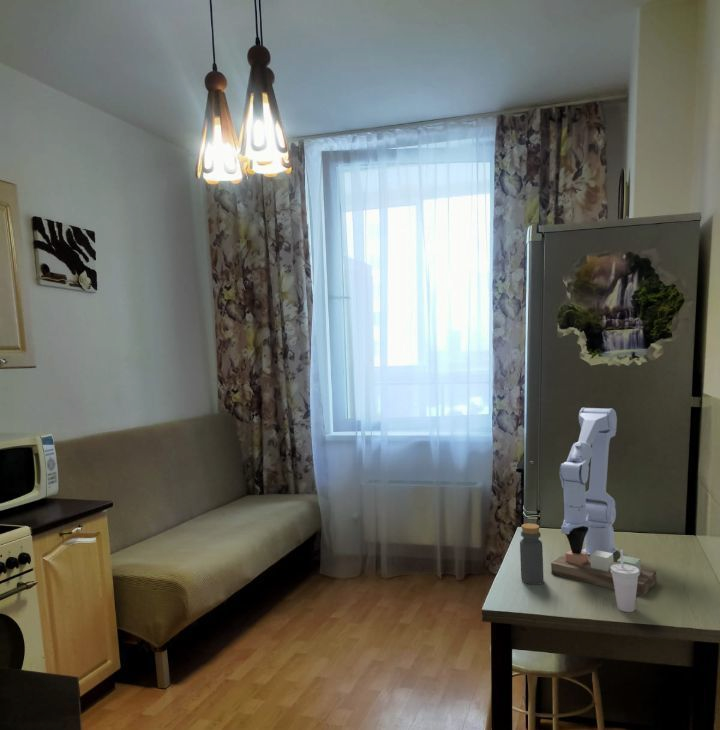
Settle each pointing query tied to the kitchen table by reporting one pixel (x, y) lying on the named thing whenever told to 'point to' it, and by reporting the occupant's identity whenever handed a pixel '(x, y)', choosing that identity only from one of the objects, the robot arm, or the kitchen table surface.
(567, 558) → the salmon cube
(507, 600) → the kitchen table surface
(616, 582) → the smoothie
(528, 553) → the bottle
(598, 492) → the robot arm
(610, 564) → the white cube
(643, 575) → the brown wooden tray
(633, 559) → the green cube
